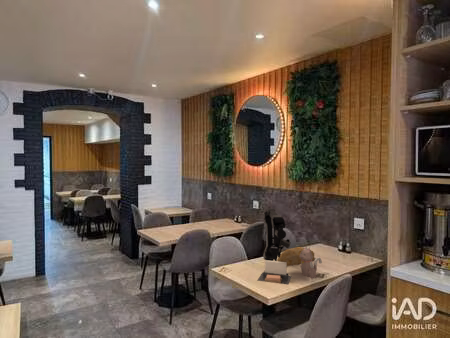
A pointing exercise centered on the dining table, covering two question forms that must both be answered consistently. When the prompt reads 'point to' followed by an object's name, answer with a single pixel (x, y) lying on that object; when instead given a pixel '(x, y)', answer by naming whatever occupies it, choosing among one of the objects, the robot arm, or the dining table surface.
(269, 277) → the offcut upper
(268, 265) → the beige rectangular panel
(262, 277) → the rack
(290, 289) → the dining table surface
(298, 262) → the bread
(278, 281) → the offcut lower
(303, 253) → the toy
